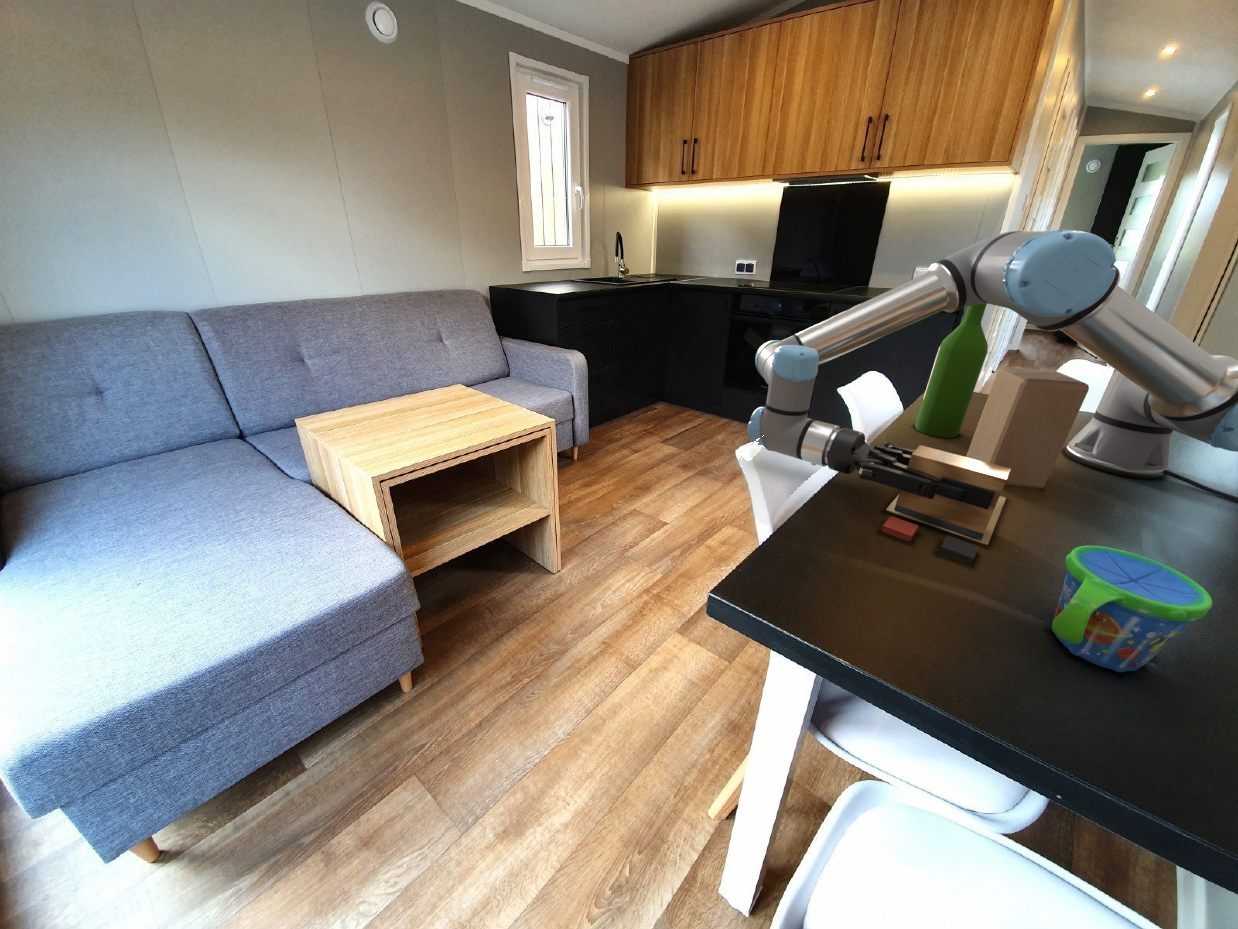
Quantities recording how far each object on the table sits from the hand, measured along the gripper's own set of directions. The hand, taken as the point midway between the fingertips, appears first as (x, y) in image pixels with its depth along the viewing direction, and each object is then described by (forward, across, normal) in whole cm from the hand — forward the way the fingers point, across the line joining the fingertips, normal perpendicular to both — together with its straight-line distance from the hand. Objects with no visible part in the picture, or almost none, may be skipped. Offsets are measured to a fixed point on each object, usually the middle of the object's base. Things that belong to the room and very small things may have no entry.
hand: (994, 493), depth 71 cm
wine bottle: (-15, -47, -8) cm, 50 cm away
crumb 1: (-9, +8, -7) cm, 14 cm away
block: (0, -28, -8) cm, 29 cm away
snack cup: (+14, +18, -8) cm, 24 cm away
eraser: (-5, 0, -6) cm, 8 cm away
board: (-5, -7, -7) cm, 12 cm away
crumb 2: (-1, +8, -7) cm, 11 cm away
